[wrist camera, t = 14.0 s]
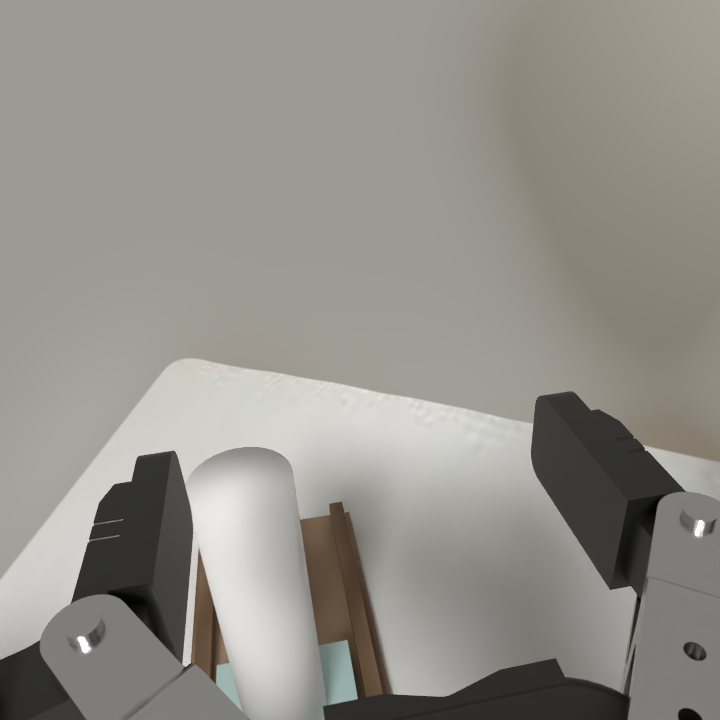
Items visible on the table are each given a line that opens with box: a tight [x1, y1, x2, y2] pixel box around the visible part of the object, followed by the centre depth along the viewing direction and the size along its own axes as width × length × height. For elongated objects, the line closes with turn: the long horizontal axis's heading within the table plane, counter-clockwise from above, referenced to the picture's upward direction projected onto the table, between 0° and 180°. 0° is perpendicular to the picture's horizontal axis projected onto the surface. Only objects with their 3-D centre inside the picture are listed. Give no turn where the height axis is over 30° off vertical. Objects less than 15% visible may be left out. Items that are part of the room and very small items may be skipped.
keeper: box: [185, 447, 358, 720], centre depth 31 cm, size 8×8×18 cm
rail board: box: [191, 502, 390, 699], centre depth 39 cm, size 12×24×4 cm, turn 10°
